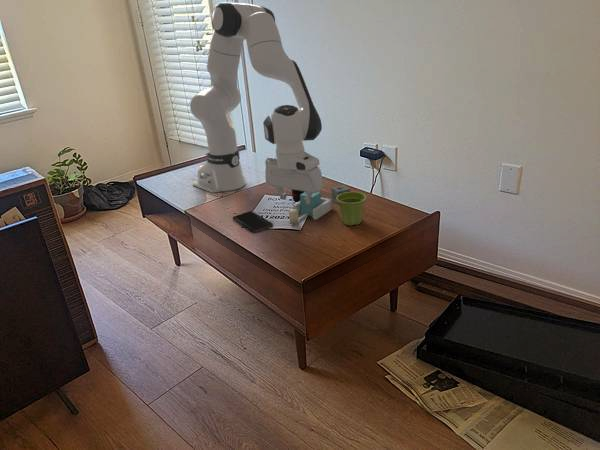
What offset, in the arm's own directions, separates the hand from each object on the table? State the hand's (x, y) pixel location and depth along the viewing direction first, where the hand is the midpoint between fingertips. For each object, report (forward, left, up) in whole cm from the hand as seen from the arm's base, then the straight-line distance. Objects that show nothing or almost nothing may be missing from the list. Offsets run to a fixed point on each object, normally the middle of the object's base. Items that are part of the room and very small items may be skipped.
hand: (295, 201), depth 156 cm
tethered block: (-1, +5, -8) cm, 9 cm away
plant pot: (+15, +9, -8) cm, 20 cm away
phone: (-14, -6, -9) cm, 17 cm away
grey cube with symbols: (+3, +23, -8) cm, 24 cm away
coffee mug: (-11, +18, -8) cm, 23 cm away
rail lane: (-1, +10, -8) cm, 13 cm away
